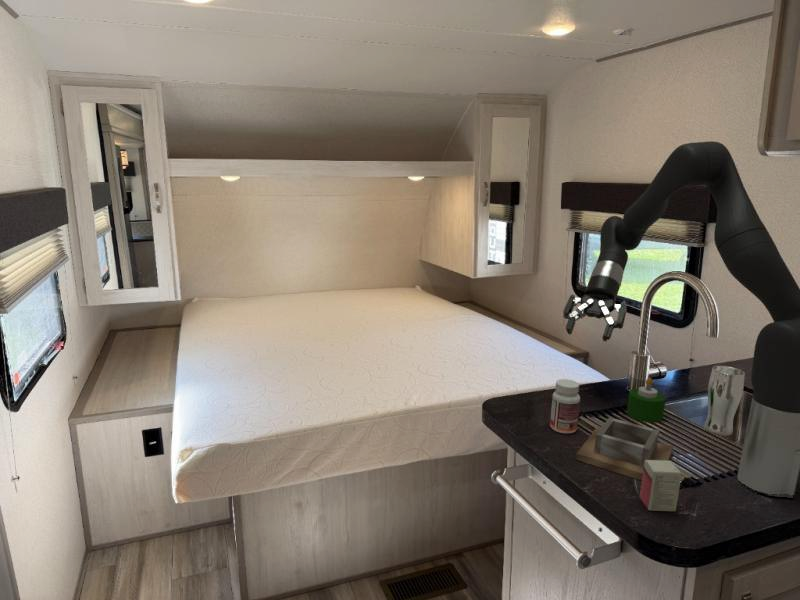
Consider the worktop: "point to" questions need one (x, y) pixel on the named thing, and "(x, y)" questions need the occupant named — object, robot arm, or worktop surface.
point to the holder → (623, 448)
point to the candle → (646, 403)
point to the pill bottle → (565, 406)
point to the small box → (660, 485)
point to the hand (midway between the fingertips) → (586, 336)
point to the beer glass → (723, 399)
